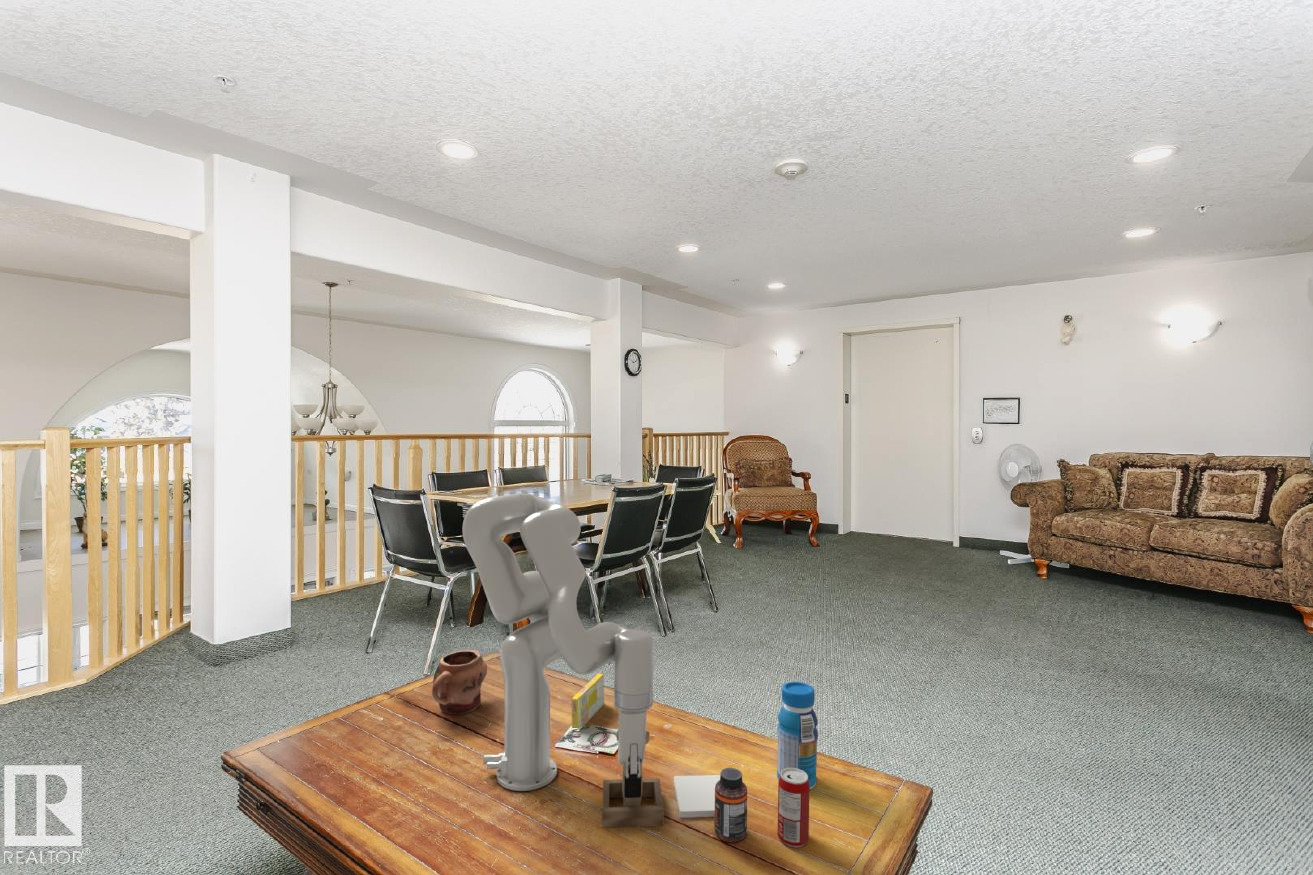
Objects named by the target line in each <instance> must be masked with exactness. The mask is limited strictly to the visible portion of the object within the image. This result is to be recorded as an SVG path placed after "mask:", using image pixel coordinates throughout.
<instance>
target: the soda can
mask: <svg viewBox="0 0 1313 875" xmlns="http://www.w3.org/2000/svg"><path fill="white" fill-rule="evenodd" d="M777 789H778V790H777V791H778V792H777V794H778V795H777V796H778V797H777V838H779V840H780V841H781V843H783V844H784V845H786V846H788V847H791V848H801V847H803V846H804V845H806V844H807V843H808V841H809V839H810V838H809V835H810V834H809V833H810V832H809V831H810V790H811V789H810V784H809V780H808V775H807V774H806V773H805V772H804V771H803V770H800V769H797V768H785V769H783V770H782V771H781V774H780V777H779V781H778V788H777Z"/></svg>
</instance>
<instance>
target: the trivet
mask: <svg viewBox="0 0 1313 875" xmlns="http://www.w3.org/2000/svg"><path fill="white" fill-rule="evenodd" d="M719 780H720V774H710V775H709V774H707V775H675V776H673V785H674V791H675V798H676V803H677V811H678V817H679V818H685V819H686V818H708V817H709V818H710V817H711V818H712V817H713V818H715V817H714V815H715V785H716V783H717V782H718V781H719Z"/></svg>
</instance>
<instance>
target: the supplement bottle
mask: <svg viewBox="0 0 1313 875" xmlns="http://www.w3.org/2000/svg"><path fill="white" fill-rule="evenodd" d="M719 775H720V780H719V781H718V782H717V783H716V785H715V815H714V817H713V818H714V820H713V821H714V825H713V826H714V833H715V835H716V836H717V837H718V838H719V839H720V840H722V841H724V842H727V843H737V842H741V841H742V840H744V839H745V838H746V835H747V829H748V828H747V826H748V823H747V822H748V788H747V785H746V783H745V782H744V781H743V773H742V771H741V770H739V769H737V768H735V767H725V768H723V769H721V771H720V774H719Z"/></svg>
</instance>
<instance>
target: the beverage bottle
mask: <svg viewBox="0 0 1313 875" xmlns="http://www.w3.org/2000/svg"><path fill="white" fill-rule="evenodd" d="M815 694H816V691H815V688H814V687H813V686H812V685H811V684H808V683H805V682H801V681H790V682H785V683H784V684H783V685H782V687H781V701H782V704H783V705H782V706H781V708H780V710H779V712H778V716H777V720H778V724H777V727H776V734H777V767H776V768H777V771H776V778H777V780H778V782H779V777H780V774H781V771H782V770H783V769H785V768H797V769H800V770H803V771H804V772H805V773H806V774H807V775H808V780H809V784H810V790H812V789H814V787H815V786H816V785H817V781H818V780H817V778H818V777H817V765H818V764H817V759H818V740H819V731H818V729H817V726H818V724H819V722H818V721H819V720H818V716H817V714H816V712H815V710H814V709H813V707H814V705H815V701H816V700H815V696H816V695H815Z"/></svg>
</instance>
